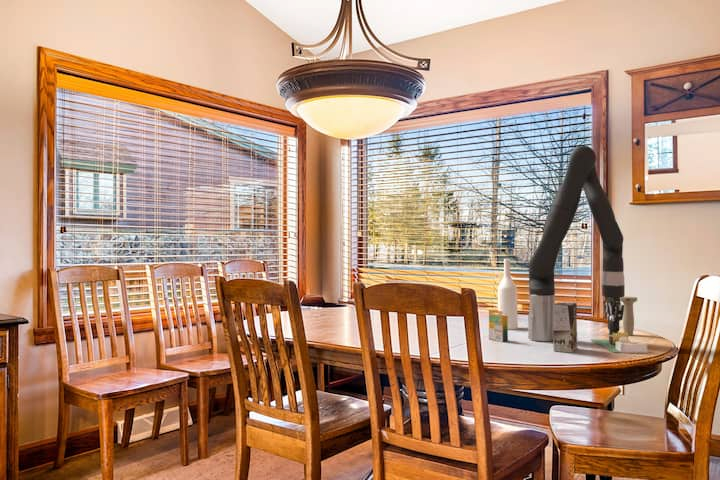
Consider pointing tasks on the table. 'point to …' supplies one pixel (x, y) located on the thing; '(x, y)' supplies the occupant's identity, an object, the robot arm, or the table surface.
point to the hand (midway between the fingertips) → (613, 330)
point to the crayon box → (498, 326)
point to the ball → (624, 340)
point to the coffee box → (565, 327)
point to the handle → (628, 314)
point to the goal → (631, 347)
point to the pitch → (608, 345)
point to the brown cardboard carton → (611, 340)
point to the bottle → (508, 297)
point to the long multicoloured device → (615, 334)
